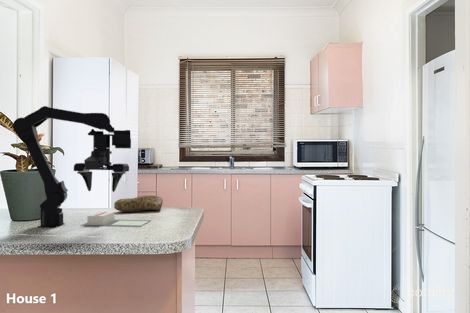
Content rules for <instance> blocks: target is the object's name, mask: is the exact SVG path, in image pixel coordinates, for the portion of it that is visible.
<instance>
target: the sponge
mask: <svg viewBox="0 0 470 313" xmlns="http://www.w3.org/2000/svg"><path fill="white" fill-rule="evenodd" d="M113 207H114V209H115V211H119V212H123V213H136V212H141V211H159V210H161V209H162V207H163V198H162V197H161V196H158V195H141V196H140V195H139V196H137V197H132V198H127V197H126V198H120V199H118V200H116V201H115V202H114V204H113Z"/></svg>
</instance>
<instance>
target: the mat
mask: <svg viewBox="0 0 470 313" xmlns="http://www.w3.org/2000/svg"><path fill="white" fill-rule="evenodd" d="M151 222H152V220H146V219H144V220H142V219H115V220H114V221H112V222H110V223H108V224H105V225H87V222H86V223H82V224H80V225H79V226H81V227H83V226H84V227H114V228H115V227H119V228H142V227H143V226H145V225H147V224H148V223H151Z"/></svg>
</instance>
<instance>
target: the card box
mask: <svg viewBox="0 0 470 313" xmlns="http://www.w3.org/2000/svg"><path fill="white" fill-rule="evenodd" d="M115 217H116V216H115V211H97V212H95V213H91V214H88V215H87V220H86V223H87V225H105V224H108V223H110V222H112V221H114V220H116V218H115Z"/></svg>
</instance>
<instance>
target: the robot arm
mask: <svg viewBox="0 0 470 313" xmlns="http://www.w3.org/2000/svg"><path fill="white" fill-rule="evenodd" d="M49 119H51V120H52V119H53V120H58V121H64V122H69V123H77V124H83V125H85V126H87V127H91V128H92V129H91V130H90V131H89V132H88V133H87V135H88V136H90V137H91V136H92V137H93V141H92V142H93V144H92V145H93V146H92V147H93V148H92V149H93V150H91V152H90V156H88V157H87V158H85V159H84V162H79V163H78V162H76V163H74V165H73V172H77V174H78V175H80V176H81V177H82V178H83V181H84V183H85V186H86V189H87V191H88V192H91V191H92V183H93V170H94V171H113V172H111V176H112V186H111V190H112V193H114V192H115V191H116V189H117V187H118V186H119V182H120V181H121V179H122V176H123V175H125V174H126V173H127V172H129V171H130V166H129V164H128V163H113V164H112V162H111V155H112V153H113V152H112V150H111V146H114V149H132V138H131V130H130V129H126V130H118V129H117V130H116V129H115V127H113V126H112V124H111V120H110V117H109V116H108V114H106V113H104V112H88V113H87V112H86V113H85V112H78V111H73V110H72V111H71V110H67V109H59V108H55V107H49V106H48V105H47V106H45V105H44V106H41V107H40V108H38V109H37V110H36V111H35V110H34V111H33V112H31V113H29V114H28V115H26V116H25V117H18V118H16V119H15V120H14V121H13V124H12V129H13V131H14V132H15V133H16V135H17V137H18V138H19V139H20V140H21V141H22V143H24V145H25V146H26V149H27V150H28V152H29V155H30V157H31V159H32V161H33V164H34V165H35V168H36V169H37V171H38V174H39V175H40V179H41V180H42V182H43V189H44V194H45V197H46V199H45V200H43V202H42V203H40V205H39V208H40V211H39V212H40V214H39V215H40V225H38V226H37V228H49V229H51V228H58V227H61V226H63V225H64V226H65V223H64V212H63V208H61V206H62V204H63V203H64V202H65V201H66V200H67V199H68V192H69V190H68V188H67V187H66V185H65V182H64V180H61V181H59V180H58V179H57V177H56V175H55V174H54V171H53V169H52V167H51V165H50V162H49V161H48V158H47V157H46V155H45V152H44V150H43V148H42V146H41V143H40V141H39V135H38V131H37V128H38V127H40V126H41V125H42V124H44V123H45V122H46V121H47V120H49ZM95 129H97V130H95ZM104 130H105V131H107V132H108V133H104ZM109 133H110V134H109Z"/></svg>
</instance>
